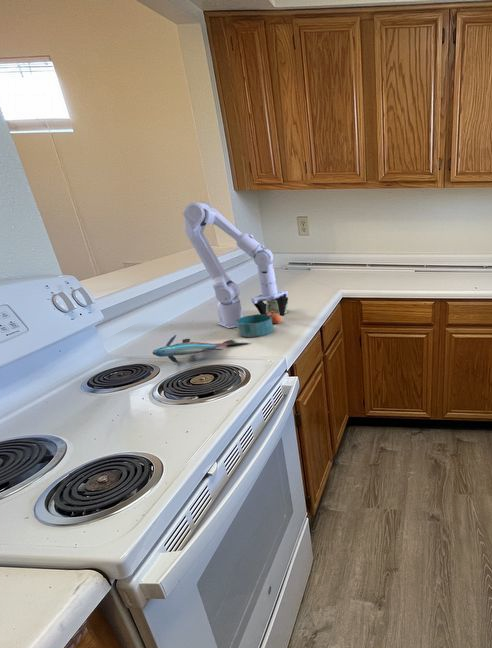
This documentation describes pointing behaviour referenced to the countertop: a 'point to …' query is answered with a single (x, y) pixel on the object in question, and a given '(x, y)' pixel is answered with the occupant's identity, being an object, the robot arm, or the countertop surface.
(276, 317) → the toy fish
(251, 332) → the teal pet bowl
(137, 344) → the countertop surface
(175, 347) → the fish
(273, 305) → the vessel
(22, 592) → the countertop surface
